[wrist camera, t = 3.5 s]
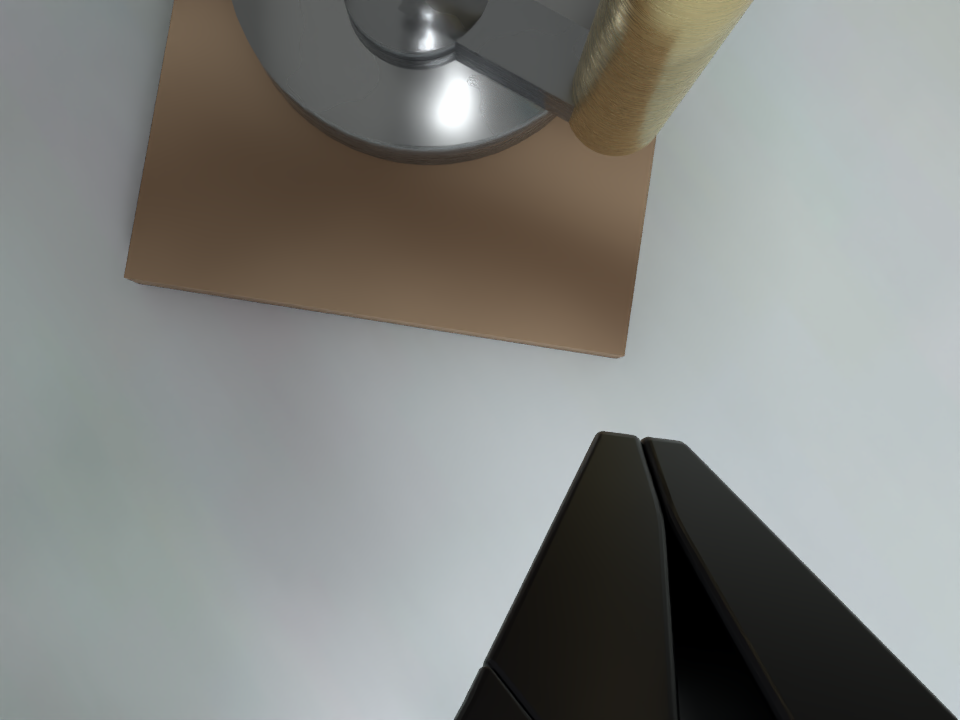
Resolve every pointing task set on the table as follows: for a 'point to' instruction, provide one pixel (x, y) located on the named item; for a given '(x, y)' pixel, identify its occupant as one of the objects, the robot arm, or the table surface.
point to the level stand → (377, 212)
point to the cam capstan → (484, 69)
